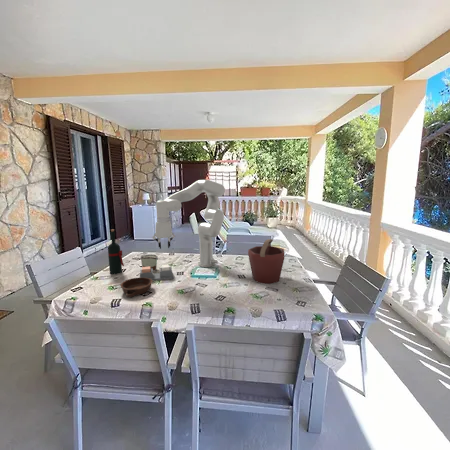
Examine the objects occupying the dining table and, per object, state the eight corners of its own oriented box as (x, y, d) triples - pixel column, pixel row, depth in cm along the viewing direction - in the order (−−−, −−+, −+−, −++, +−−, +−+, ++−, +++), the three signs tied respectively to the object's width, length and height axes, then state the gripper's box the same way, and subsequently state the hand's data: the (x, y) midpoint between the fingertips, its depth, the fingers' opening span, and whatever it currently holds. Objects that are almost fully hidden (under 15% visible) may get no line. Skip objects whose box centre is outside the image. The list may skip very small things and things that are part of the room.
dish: (157, 283, 159) (156, 275, 158) (146, 299, 137) (146, 290, 136) (129, 283, 159) (128, 275, 158) (114, 299, 137) (113, 290, 136)
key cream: (169, 268, 172) (169, 264, 171) (169, 271, 167) (169, 267, 166) (161, 269, 170) (161, 265, 170) (161, 272, 166) (161, 267, 165)
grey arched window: (160, 267, 186) (160, 254, 185) (157, 270, 180) (157, 256, 179) (144, 267, 188) (143, 254, 186) (140, 270, 182) (140, 256, 180)
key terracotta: (150, 270, 168) (150, 266, 168) (150, 273, 164) (150, 268, 163) (142, 271, 167) (142, 267, 167) (142, 274, 162) (142, 269, 162)
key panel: (172, 273, 175) (172, 266, 174) (173, 278, 166) (173, 270, 165) (139, 276, 170) (139, 269, 169) (139, 281, 160) (138, 274, 159)
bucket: (260, 269, 180) (261, 234, 176) (291, 276, 167) (292, 238, 163) (242, 281, 160) (242, 241, 156) (275, 289, 148) (276, 247, 143)
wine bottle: (121, 274, 173) (117, 230, 168) (107, 274, 174) (103, 230, 169) (127, 270, 181) (124, 228, 175) (113, 270, 182) (110, 228, 177)
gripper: (176, 218, 169) (177, 245, 172) (149, 219, 164) (150, 247, 167) (177, 220, 162) (178, 248, 165) (149, 221, 157) (150, 250, 160)
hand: (164, 247), depth 166 cm, fingers open, 4 cm apart
